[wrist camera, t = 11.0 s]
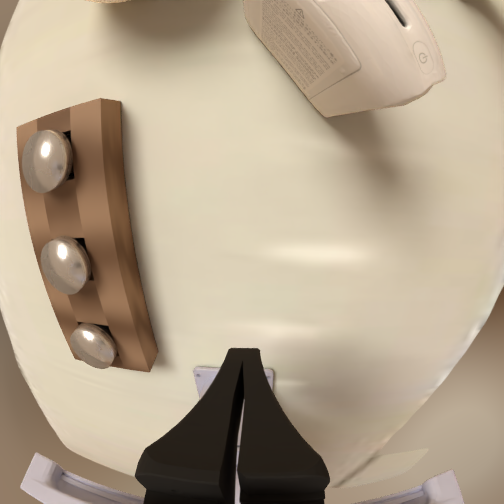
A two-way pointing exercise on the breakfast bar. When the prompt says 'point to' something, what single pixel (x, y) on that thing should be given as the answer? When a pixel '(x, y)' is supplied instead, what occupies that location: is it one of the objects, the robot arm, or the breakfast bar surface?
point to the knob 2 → (94, 345)
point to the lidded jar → (107, 1)
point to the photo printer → (350, 50)
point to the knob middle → (66, 264)
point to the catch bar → (93, 230)
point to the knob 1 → (47, 160)
